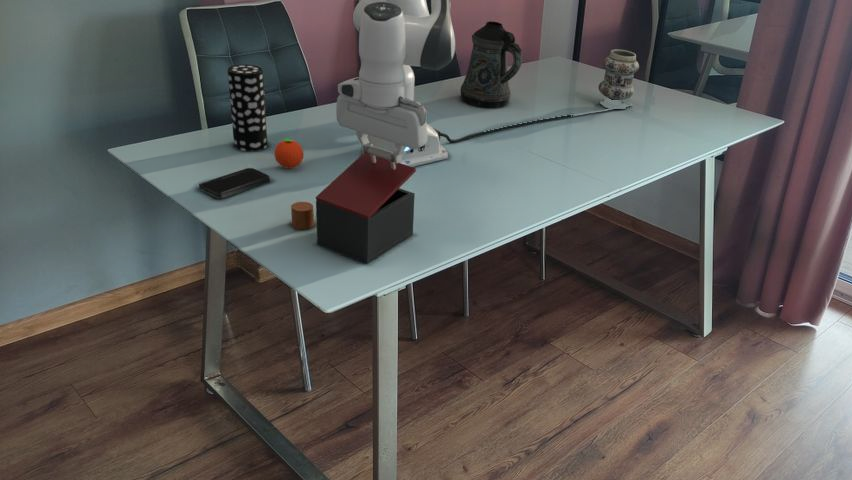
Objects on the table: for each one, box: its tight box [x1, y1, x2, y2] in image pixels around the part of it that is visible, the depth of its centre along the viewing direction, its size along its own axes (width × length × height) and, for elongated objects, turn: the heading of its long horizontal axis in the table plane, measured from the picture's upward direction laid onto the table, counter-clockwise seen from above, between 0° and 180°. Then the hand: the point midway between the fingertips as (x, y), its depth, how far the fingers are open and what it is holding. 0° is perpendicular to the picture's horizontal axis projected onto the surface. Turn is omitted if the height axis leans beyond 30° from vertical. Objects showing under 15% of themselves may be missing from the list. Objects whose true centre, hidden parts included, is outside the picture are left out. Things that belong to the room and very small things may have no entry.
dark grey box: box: [315, 187, 416, 265], centre depth 158 cm, size 16×13×10 cm
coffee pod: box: [290, 201, 315, 231], centre depth 163 cm, size 5×5×4 cm
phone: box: [198, 167, 271, 200], centre depth 177 cm, size 8×1×15 cm
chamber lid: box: [315, 145, 417, 219], centre depth 153 cm, size 17×13×5 cm
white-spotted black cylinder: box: [227, 63, 268, 152], centre depth 193 cm, size 8×8×20 cm
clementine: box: [274, 138, 304, 169], centre depth 187 cm, size 8×7×7 cm
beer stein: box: [460, 21, 524, 109], centre depth 243 cm, size 16×19×25 cm
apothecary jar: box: [598, 48, 640, 101], centre depth 254 cm, size 12×12×18 cm
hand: (381, 156), depth 156 cm, fingers closed on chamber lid, 6 cm apart
